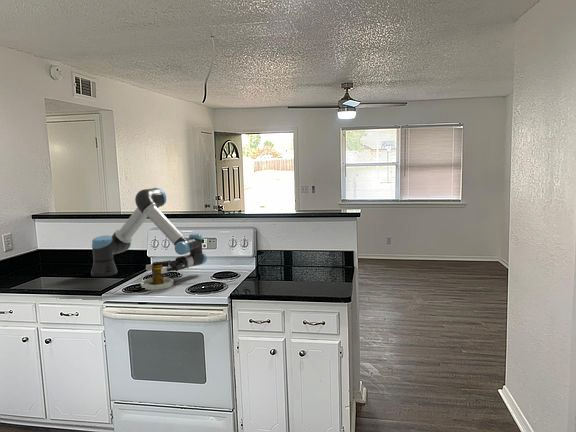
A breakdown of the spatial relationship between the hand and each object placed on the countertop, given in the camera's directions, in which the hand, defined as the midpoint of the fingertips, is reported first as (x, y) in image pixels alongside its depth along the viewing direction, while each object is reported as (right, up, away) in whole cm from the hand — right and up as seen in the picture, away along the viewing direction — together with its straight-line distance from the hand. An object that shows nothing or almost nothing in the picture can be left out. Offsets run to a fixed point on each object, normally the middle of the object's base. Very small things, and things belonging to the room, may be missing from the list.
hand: (153, 269), depth 255 cm
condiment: (+1, -9, +3) cm, 9 cm away
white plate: (+1, -9, +3) cm, 10 cm away
